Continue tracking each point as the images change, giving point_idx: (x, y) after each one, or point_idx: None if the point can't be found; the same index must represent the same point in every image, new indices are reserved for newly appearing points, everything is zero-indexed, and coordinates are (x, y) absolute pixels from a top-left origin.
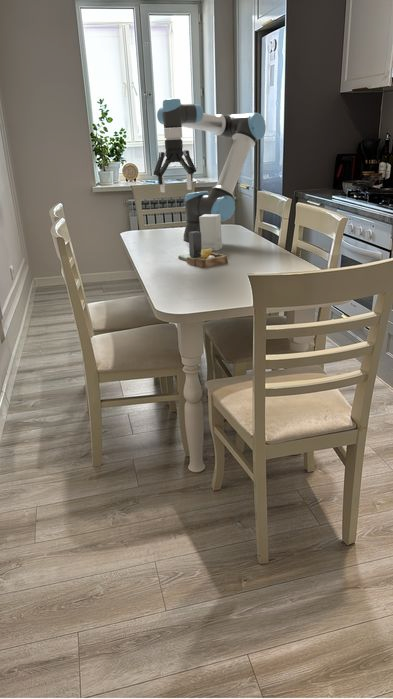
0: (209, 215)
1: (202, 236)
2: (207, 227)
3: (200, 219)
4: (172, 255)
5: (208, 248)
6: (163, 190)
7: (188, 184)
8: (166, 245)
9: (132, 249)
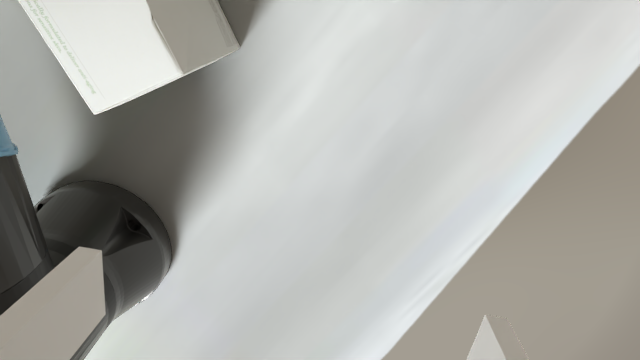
0: (106, 18)
1: (217, 42)
2: (180, 3)
3: (186, 60)
4: (407, 77)
5: (219, 6)
6: (517, 338)
7: (62, 328)
8: (283, 254)
9: (422, 303)
